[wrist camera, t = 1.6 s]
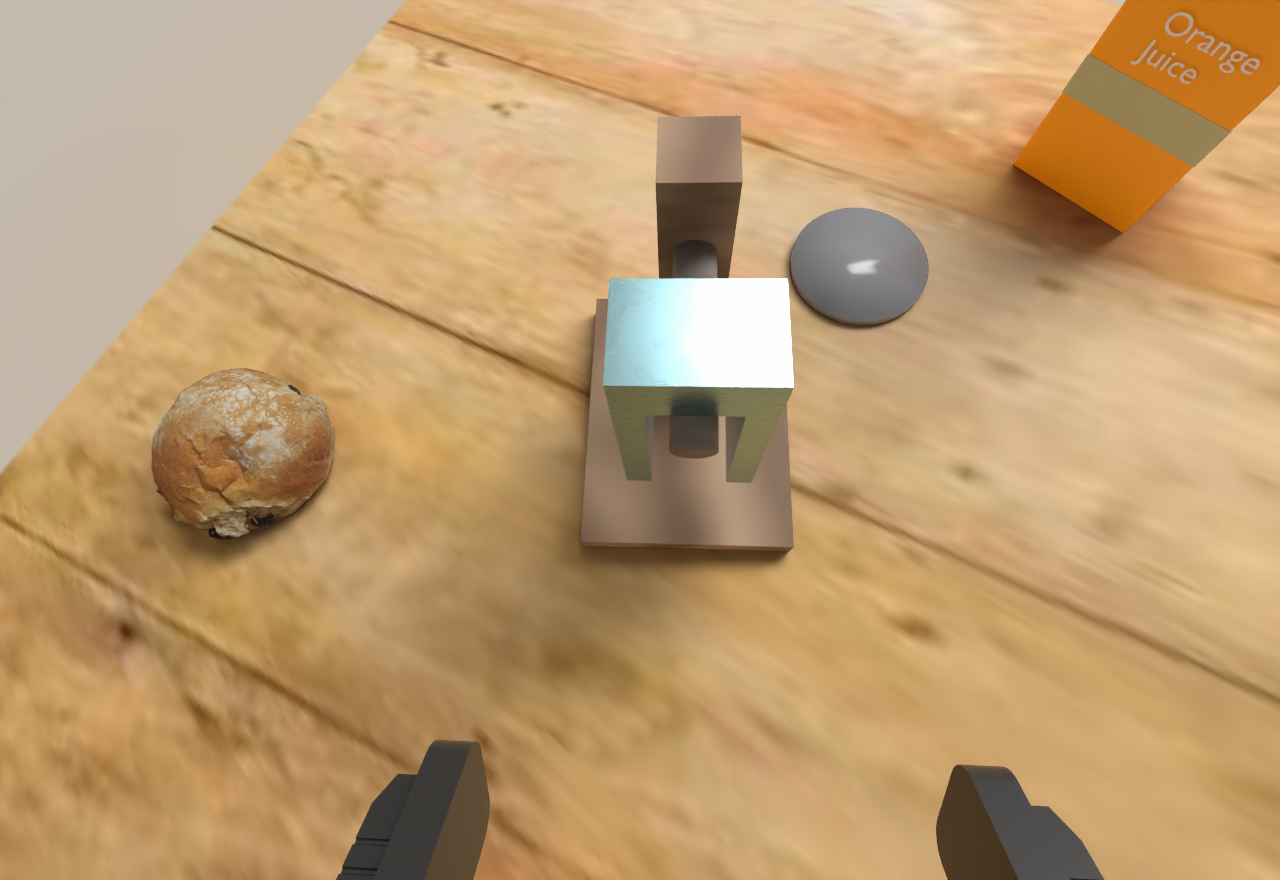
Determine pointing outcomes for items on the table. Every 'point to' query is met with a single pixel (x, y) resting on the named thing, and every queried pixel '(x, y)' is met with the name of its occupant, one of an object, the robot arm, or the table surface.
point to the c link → (698, 363)
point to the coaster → (859, 266)
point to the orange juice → (1154, 101)
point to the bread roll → (241, 452)
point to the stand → (686, 445)
